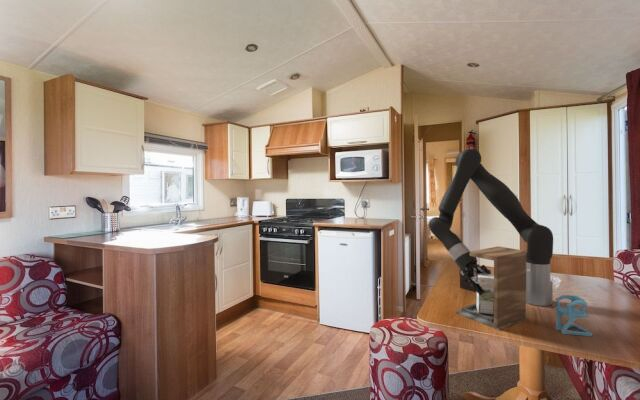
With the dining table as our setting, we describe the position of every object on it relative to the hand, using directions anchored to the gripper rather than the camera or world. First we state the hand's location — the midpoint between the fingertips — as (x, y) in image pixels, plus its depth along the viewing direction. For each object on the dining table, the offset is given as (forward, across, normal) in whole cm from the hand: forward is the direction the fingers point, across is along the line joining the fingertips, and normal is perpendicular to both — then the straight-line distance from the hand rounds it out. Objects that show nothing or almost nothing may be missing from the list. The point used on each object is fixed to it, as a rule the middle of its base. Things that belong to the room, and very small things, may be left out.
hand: (488, 291), depth 118 cm
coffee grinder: (-11, +24, +24) cm, 35 cm away
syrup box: (+5, 0, +7) cm, 9 cm away
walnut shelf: (+7, 0, +6) cm, 9 cm away
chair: (+22, +11, -9) cm, 26 cm away
